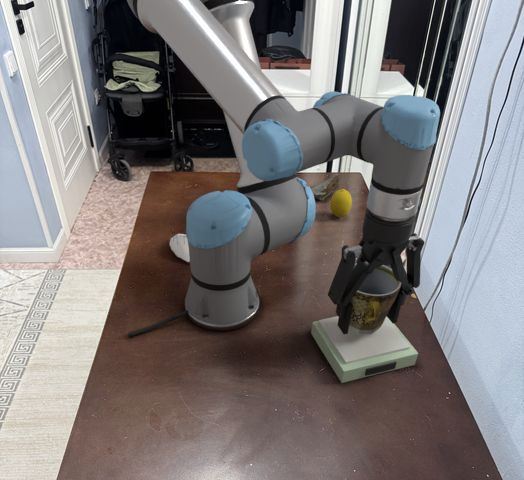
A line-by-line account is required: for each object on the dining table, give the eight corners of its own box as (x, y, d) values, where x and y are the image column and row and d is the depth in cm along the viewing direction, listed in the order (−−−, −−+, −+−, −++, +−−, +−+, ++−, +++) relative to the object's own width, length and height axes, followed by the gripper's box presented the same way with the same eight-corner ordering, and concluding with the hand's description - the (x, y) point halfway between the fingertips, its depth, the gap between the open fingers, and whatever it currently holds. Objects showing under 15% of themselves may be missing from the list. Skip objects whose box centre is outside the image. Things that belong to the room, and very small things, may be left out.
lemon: (348, 223, 129) (353, 195, 124) (327, 221, 130) (331, 192, 125) (350, 213, 133) (354, 185, 128) (329, 211, 134) (333, 183, 129)
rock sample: (311, 171, 143) (328, 159, 136) (329, 188, 146) (347, 178, 138) (294, 197, 141) (311, 187, 133) (313, 215, 143) (331, 206, 136)
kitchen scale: (342, 384, 88) (345, 370, 85) (310, 333, 97) (312, 319, 95) (415, 366, 91) (420, 352, 89) (378, 318, 101) (381, 305, 99)
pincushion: (202, 262, 115) (200, 240, 111) (176, 266, 113) (173, 244, 110) (190, 236, 123) (188, 215, 119) (166, 240, 122) (163, 219, 118)
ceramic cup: (333, 305, 95) (340, 261, 88) (385, 307, 95) (396, 263, 88) (339, 351, 86) (347, 305, 79) (396, 353, 86) (410, 308, 79)
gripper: (335, 233, 69) (320, 350, 85) (466, 212, 75) (430, 325, 90) (314, 209, 75) (303, 323, 90) (438, 190, 80) (408, 301, 95)
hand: (367, 324), depth 90 cm, fingers closed on ceramic cup, 9 cm apart
